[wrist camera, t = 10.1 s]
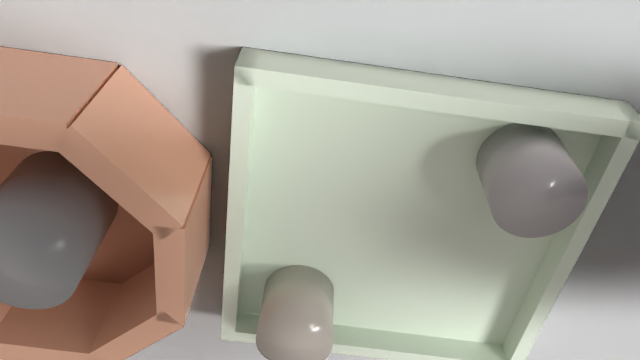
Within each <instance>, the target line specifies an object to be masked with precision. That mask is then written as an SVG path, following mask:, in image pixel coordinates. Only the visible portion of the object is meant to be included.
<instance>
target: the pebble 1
mask: <svg viewBox="0 0 640 360" xmlns="http://www.w3.org/2000/svg"><path fill="white" fill-rule="evenodd" d="M333 316H334V287H333V284H332V282H331V280H330V279H329V278H328V277H327V276H326V275H325V274H324V273H322V272H321V271H319V270H317V269H315V268H312V267H309V266H304V265H291V266H286V267H283V268H280V269H278V270H276V271H275V272H273V273H272V274H271V275H270V276H269V277H268V279H267V280H266V283H265V287H264V293H263V299H262V305H261V310H260V316H259V322H258V328H257V334H256V345H257V348H258V350H259V351H260V353H261V354H262V355H263V356H264V357H265V358H267V359H268V360H324V359H325V358H326V357H327V356H328V355H329V354H330V352H331V350H332V346H333Z"/></svg>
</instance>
